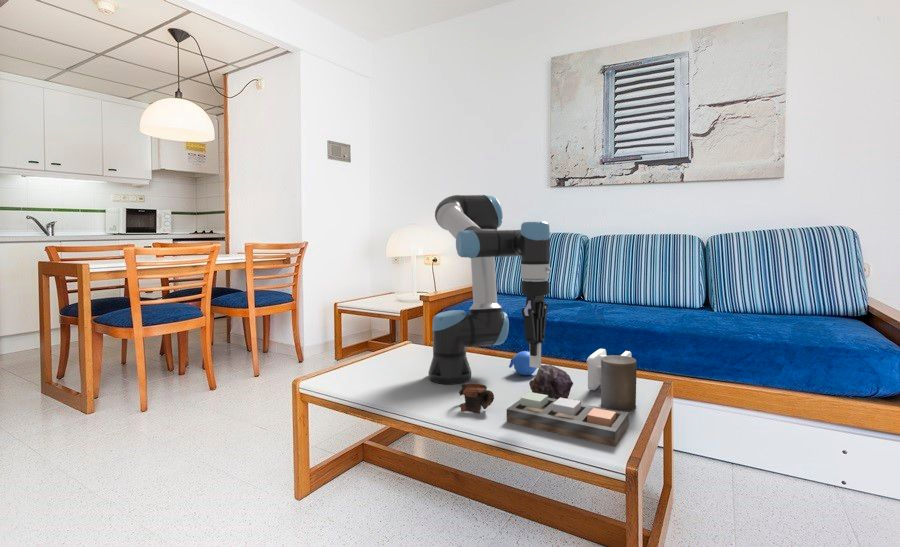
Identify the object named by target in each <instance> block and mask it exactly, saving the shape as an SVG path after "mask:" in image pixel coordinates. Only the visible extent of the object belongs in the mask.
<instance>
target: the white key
mask: <svg viewBox="0 0 900 547" xmlns="http://www.w3.org/2000/svg"><path fill="white" fill-rule="evenodd" d="M581 402H582V400H576V399H571V398H568V399H566V398H559V399H558V400H557V401H555V402H554V403H553V412H558V413H563V414H568V415H573V416H574V415H575V414H576V413H577V412H578V411H579V410H580V409H581V404H582V403H581Z"/></svg>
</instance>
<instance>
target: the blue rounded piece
mask: <svg viewBox="0 0 900 547" xmlns="http://www.w3.org/2000/svg"><path fill="white" fill-rule="evenodd" d="M512 367H513V368H514V370H515V372H516V373H518V374H519V375H521V376H530V375H533V374H534V373H535V372H536V371H537V370H538V368H535V367H530V351H527V350H523V351H519V352H517V353H516V354H515V355H514V357H512V358H511V359H510V361H509V365H508V369H511V368H512Z"/></svg>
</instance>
